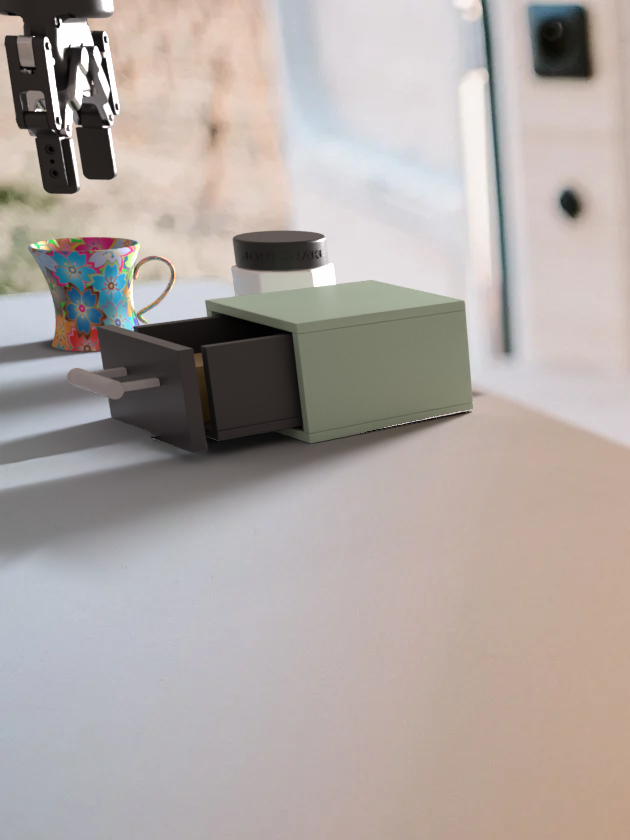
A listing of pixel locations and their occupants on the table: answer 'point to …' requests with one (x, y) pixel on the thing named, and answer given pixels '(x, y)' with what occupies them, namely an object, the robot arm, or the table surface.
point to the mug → (92, 286)
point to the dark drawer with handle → (178, 385)
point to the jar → (280, 262)
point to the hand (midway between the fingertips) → (82, 186)
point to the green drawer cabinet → (366, 353)
